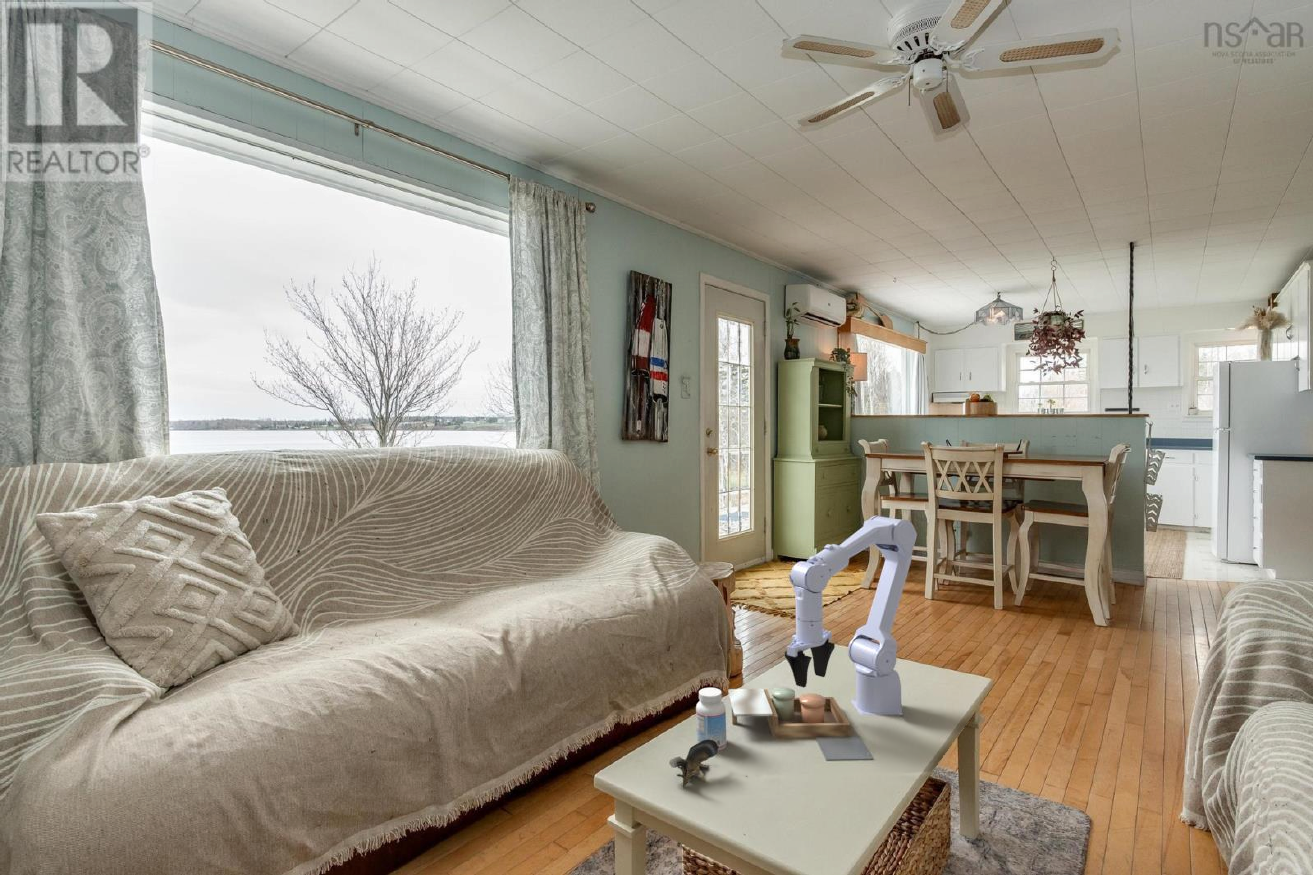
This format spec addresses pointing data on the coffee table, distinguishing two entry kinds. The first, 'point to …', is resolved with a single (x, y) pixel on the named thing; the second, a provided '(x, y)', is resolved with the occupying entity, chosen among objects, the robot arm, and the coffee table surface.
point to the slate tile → (843, 748)
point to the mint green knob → (784, 702)
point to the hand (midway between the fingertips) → (810, 680)
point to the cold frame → (763, 705)
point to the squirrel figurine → (695, 760)
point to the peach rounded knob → (812, 708)
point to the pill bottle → (711, 717)
